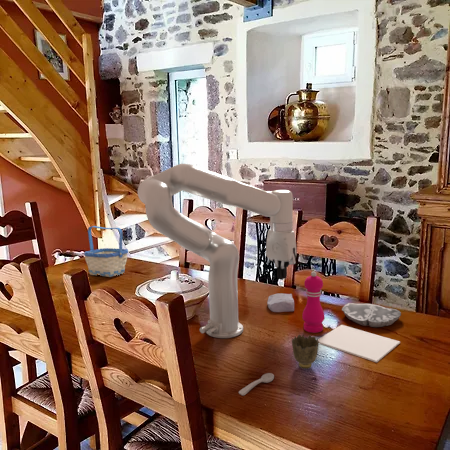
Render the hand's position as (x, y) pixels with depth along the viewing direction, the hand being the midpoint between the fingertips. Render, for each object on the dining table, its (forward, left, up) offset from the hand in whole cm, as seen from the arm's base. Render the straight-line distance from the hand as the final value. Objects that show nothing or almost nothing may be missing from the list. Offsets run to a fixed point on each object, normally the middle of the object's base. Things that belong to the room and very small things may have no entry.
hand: (281, 278), depth 157 cm
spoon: (-39, -21, -16) cm, 47 cm away
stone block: (+10, +8, -16) cm, 20 cm away
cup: (-23, -25, -15) cm, 37 cm away
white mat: (0, -29, -15) cm, 33 cm away
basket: (-9, +98, -15) cm, 100 cm away
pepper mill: (0, -13, -15) cm, 20 cm away
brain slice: (+19, -24, -16) cm, 34 cm away
